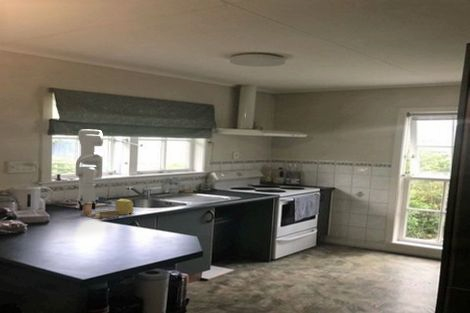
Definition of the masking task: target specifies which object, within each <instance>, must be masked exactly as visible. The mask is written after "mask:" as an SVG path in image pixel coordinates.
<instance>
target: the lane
mask: <svg viewBox="0 0 470 313" xmlns="http://www.w3.org/2000/svg"><path fill="white" fill-rule="evenodd" d="M89 216H90V217H91V218H93V217H95V218H94V219H97V218H99V220H104V219H103V218H109V219H114V218H113V217H118V218H120V214H119V210H116V209H114V210H110V211H103V212H100V215H98V214H96V212H95V213H94V212H92V213H91V212H87V217H89Z"/></svg>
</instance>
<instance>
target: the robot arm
mask: <svg viewBox="0 0 470 313" xmlns="http://www.w3.org/2000/svg"><path fill="white" fill-rule="evenodd" d="M77 138H78V141H79V144H80V156H79V157H78V158H77V160H76V163H75V176H76V178H78V196H77V197H76V200H75V201H76V204H77V205H75V208H76V209H79V211H82V212H83V204H84V203H91V204H92V211H93V210H95V211H96V204H97V203H98V201H99V199H100V197H98V195H96V187H95V186H96V183H95V180H101V179H102V177H103V155H102V154H101V153H99V152H96V151H95V148H96V147H102V146H103V144H104V135H103V132H102V130H99V129H89V128H88V129H84V128H83V129H80V130H78V133H77ZM81 164H82V165H85V166H81Z"/></svg>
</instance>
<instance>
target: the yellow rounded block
mask: <svg viewBox="0 0 470 313" xmlns="http://www.w3.org/2000/svg"><path fill="white" fill-rule="evenodd" d="M115 210H119V215H123V214H129V213H131V214H133V213H134V203H133V201H132V200H131V199H126V198H119V199H118V200H116V201H115ZM132 212H133V213H132ZM129 215H130V214H129Z"/></svg>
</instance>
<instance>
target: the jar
mask: <svg viewBox="0 0 470 313" xmlns="http://www.w3.org/2000/svg"><path fill="white" fill-rule="evenodd" d="M92 204H93V203H92V202H91V203H84V204H83V211H82V216H86V215H87V212H91V213H93V209H92Z"/></svg>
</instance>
